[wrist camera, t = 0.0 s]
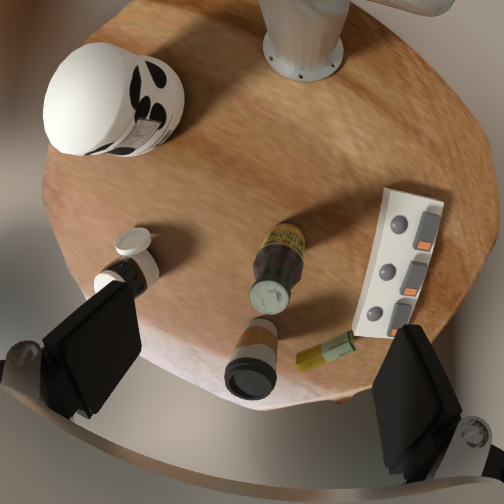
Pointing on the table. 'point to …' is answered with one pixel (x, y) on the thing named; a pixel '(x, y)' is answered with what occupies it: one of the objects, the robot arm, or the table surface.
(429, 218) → the rocker
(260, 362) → the coffee cup
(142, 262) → the spread jar
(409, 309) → the rocker
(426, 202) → the rocker switch panel
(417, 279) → the rocker middle
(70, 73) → the milk container
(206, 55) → the table surface
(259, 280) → the sauce bottle
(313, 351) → the medication box
